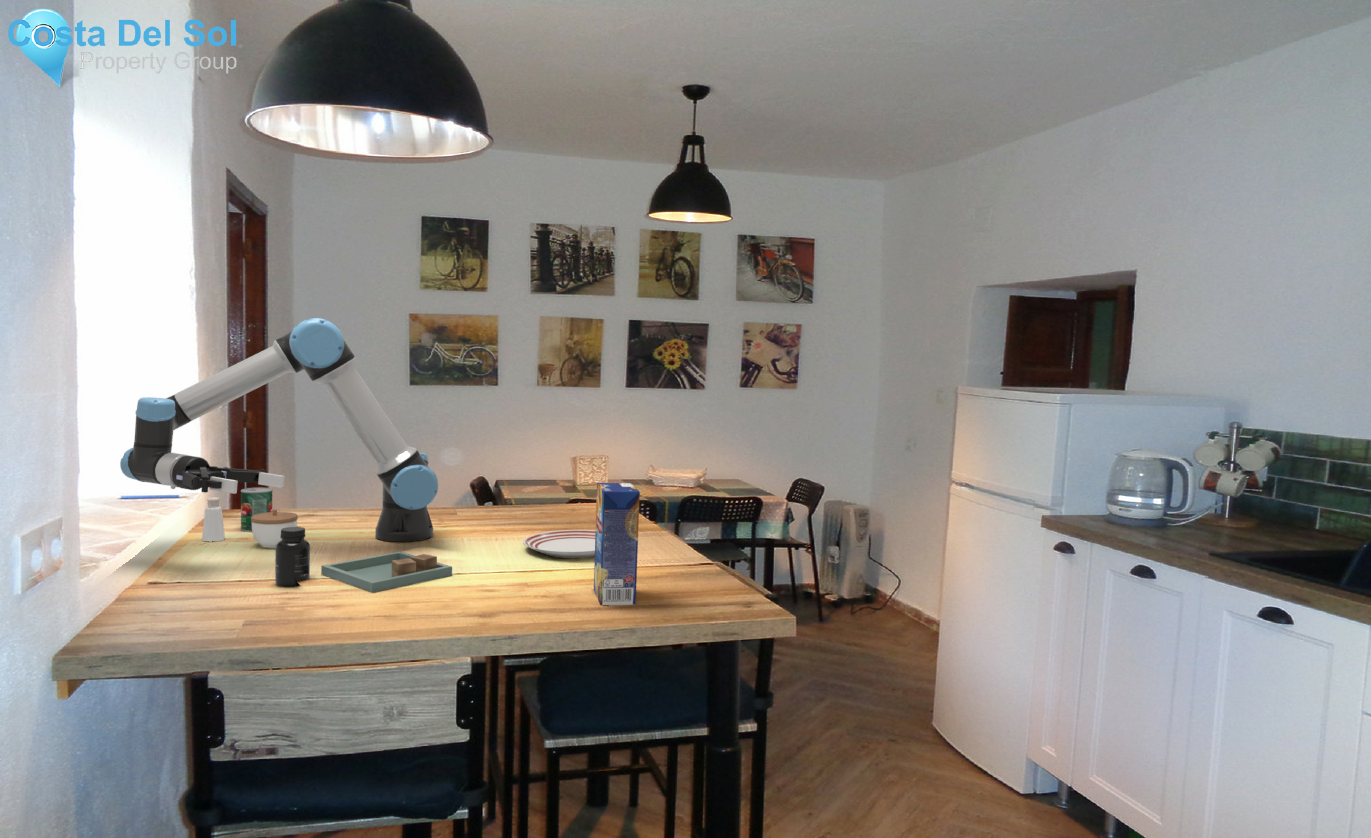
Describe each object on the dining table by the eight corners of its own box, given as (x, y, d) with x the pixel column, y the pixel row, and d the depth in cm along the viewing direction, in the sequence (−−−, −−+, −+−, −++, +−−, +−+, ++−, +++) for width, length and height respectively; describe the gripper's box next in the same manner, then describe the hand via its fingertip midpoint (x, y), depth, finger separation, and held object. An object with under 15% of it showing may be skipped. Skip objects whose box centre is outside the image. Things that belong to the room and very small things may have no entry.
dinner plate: (506, 558, 216) (506, 545, 216) (543, 536, 243) (543, 525, 243) (611, 567, 211) (612, 554, 211) (637, 544, 238) (638, 532, 238)
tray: (400, 563, 206) (400, 551, 206) (451, 579, 194) (452, 566, 193) (321, 578, 190) (321, 565, 190) (372, 597, 178) (372, 583, 178)
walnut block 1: (409, 576, 192) (409, 558, 191) (415, 580, 188) (416, 562, 188) (391, 578, 189) (391, 560, 189) (397, 582, 186) (397, 564, 186)
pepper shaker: (196, 540, 221) (196, 498, 220) (216, 536, 226) (216, 495, 225) (210, 543, 219) (210, 500, 218) (230, 539, 224) (229, 497, 223)
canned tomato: (278, 528, 239) (279, 489, 238) (254, 533, 232) (254, 493, 231) (258, 525, 242) (258, 486, 242) (234, 529, 235) (234, 490, 234)
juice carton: (635, 604, 180) (639, 491, 178) (600, 605, 178) (604, 491, 176) (626, 589, 192) (630, 482, 190) (593, 589, 190) (597, 482, 188)
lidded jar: (305, 542, 224) (305, 507, 223) (282, 551, 213) (282, 514, 212) (266, 540, 225) (267, 504, 224) (241, 549, 214) (241, 512, 214)
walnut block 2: (423, 571, 196) (423, 553, 196) (436, 573, 194) (436, 556, 194) (410, 574, 193) (410, 557, 192) (423, 577, 191) (423, 559, 191)
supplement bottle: (267, 584, 184) (268, 529, 183) (293, 577, 190) (293, 524, 190) (291, 589, 182) (292, 533, 181) (316, 581, 188) (317, 527, 187)
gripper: (227, 483, 206) (299, 496, 200) (133, 493, 182) (212, 507, 176) (229, 452, 206) (302, 464, 200) (136, 458, 182) (215, 471, 176)
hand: (260, 484), depth 188 cm, fingers open, 13 cm apart
